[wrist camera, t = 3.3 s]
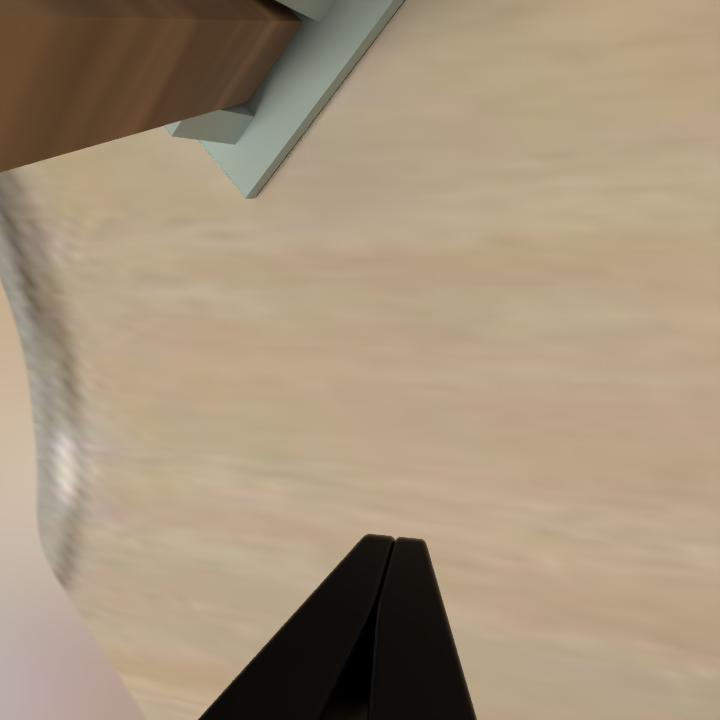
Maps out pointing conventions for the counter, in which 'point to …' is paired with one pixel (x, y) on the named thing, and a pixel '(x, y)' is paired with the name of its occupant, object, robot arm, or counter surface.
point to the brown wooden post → (126, 67)
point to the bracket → (289, 90)
